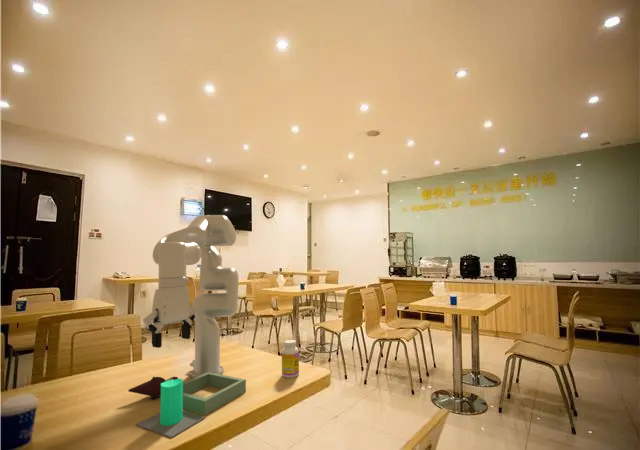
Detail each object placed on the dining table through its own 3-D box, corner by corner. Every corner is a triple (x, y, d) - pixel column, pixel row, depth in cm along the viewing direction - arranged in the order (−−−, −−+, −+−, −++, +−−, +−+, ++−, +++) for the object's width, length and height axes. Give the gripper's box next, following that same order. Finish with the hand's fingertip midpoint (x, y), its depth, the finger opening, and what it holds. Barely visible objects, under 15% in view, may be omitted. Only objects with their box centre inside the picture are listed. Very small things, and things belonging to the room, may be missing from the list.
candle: (187, 416, 95) (187, 374, 96) (171, 427, 89) (172, 381, 90) (171, 413, 97) (171, 372, 98) (154, 423, 91) (155, 379, 92)
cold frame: (165, 403, 104) (165, 390, 105) (208, 383, 120) (208, 371, 120) (205, 415, 96) (205, 401, 96) (245, 391, 112) (245, 379, 112)
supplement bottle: (296, 378, 122) (295, 343, 123) (279, 378, 123) (279, 343, 124) (301, 372, 128) (300, 339, 129) (285, 371, 130) (284, 338, 131)
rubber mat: (136, 425, 91) (136, 423, 91) (170, 408, 101) (170, 407, 101) (171, 438, 84) (171, 436, 84) (204, 418, 94) (204, 417, 94)
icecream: (128, 387, 102) (179, 381, 109) (130, 374, 109) (178, 369, 116) (126, 407, 103) (177, 400, 110) (127, 393, 110) (175, 387, 117)
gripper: (188, 280, 105) (187, 334, 104) (136, 286, 90) (135, 349, 89) (204, 281, 102) (204, 336, 100) (153, 286, 87) (152, 352, 85)
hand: (172, 342), depth 94 cm, fingers open, 9 cm apart
